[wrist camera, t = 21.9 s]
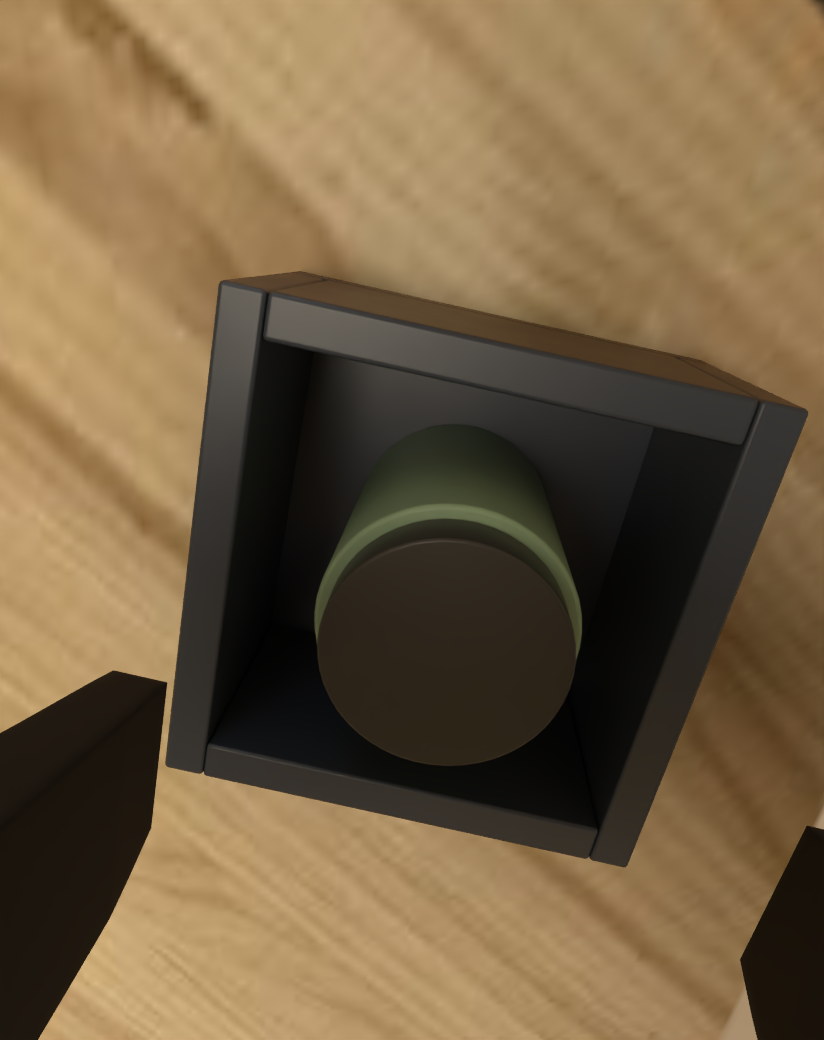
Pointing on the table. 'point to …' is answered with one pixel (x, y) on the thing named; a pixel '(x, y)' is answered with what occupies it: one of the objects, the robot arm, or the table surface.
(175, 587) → the table surface
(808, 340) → the table surface
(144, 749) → the robot arm
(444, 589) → the green lidded canister
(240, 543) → the bin
